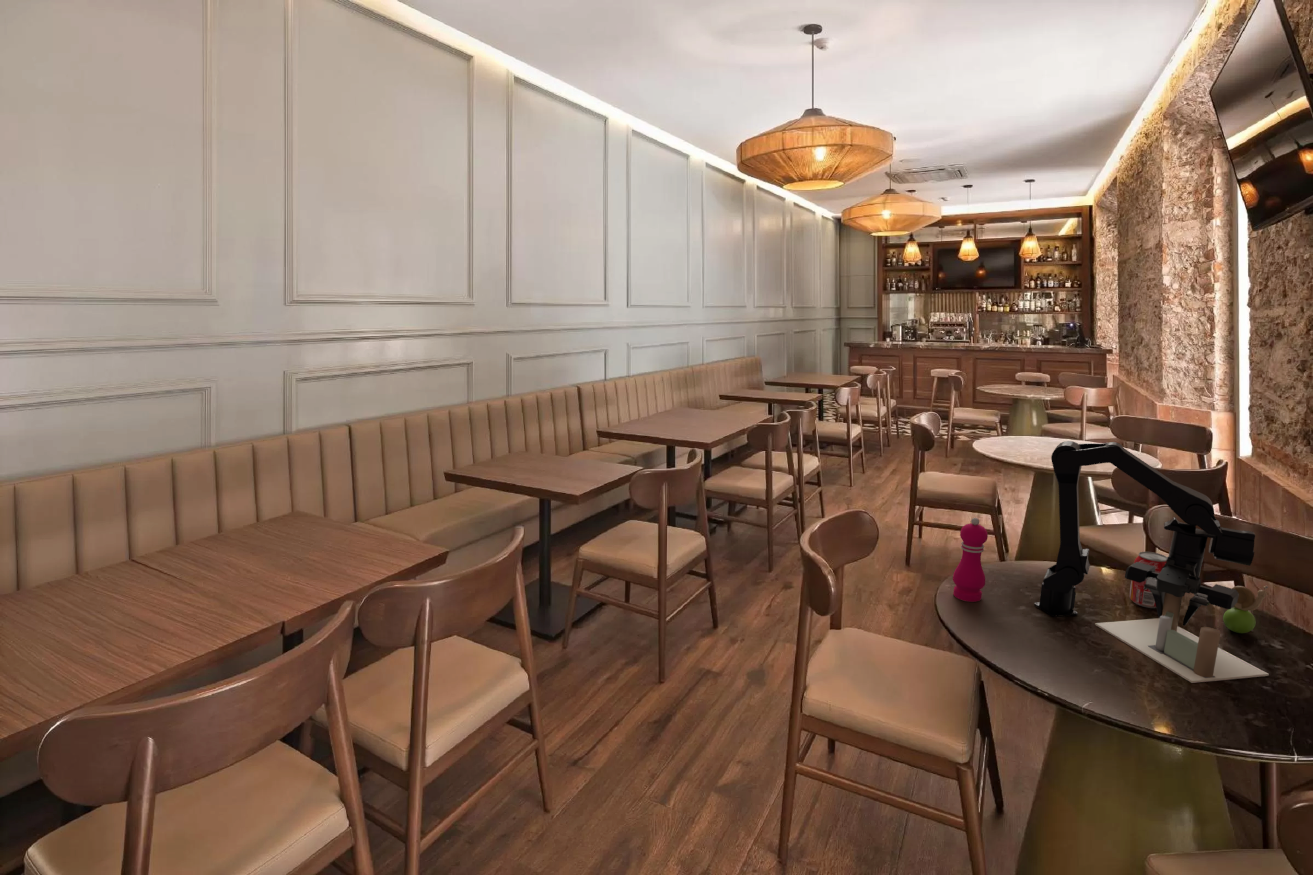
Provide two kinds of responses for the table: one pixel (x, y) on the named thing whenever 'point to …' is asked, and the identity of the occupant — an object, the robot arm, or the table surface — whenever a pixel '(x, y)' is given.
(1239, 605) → the snail figurine
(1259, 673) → the card
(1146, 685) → the table surface
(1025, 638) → the table surface
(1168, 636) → the fence fixed
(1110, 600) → the table surface
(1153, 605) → the soda can
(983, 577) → the pepper mill
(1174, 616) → the fence gate
